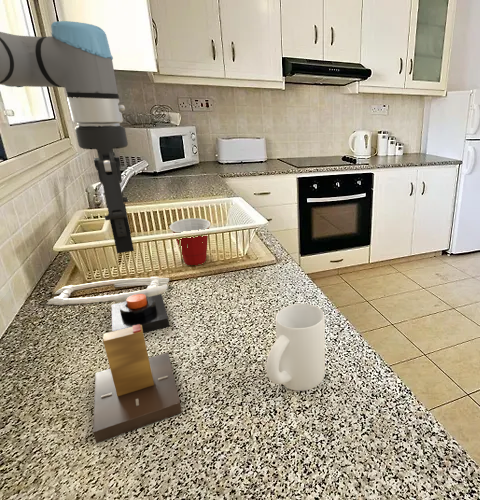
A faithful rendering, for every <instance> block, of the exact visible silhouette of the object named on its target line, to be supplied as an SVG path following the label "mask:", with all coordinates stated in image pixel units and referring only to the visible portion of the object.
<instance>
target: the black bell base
mask: <svg viewBox="0 0 480 500" xmlns="http://www.w3.org/2000/svg"><path fill="white" fill-rule="evenodd" d="M146 299H147V305H145V306H143V307H141V308H136V309H129V308H128V305H127V301H123V302H117V303H112V304H111V305H110V307H111V309H110V310H111V332H113V331H117V330H121V329H125V328H130V327H133V326H134V325H138V324H140V325H142V329H143V334H147V333H150V332H155V331H159V330H162V329H166V328H170V327H171V326H170V320H169V315H168V313H167V309H166V304H165V302H164V298H163V293H162V294H158V295H155V296H150V297H147V296H146Z"/></svg>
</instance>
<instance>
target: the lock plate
mask: <svg viewBox="0 0 480 500" xmlns="http://www.w3.org/2000/svg"><path fill="white" fill-rule="evenodd" d="M149 362H150V367H151V372H152V376H153V382H154V385H153V386H150V387H146V388H143V389H140V390H137V391H134V392H131V393H127V394H124V395H121V396H117V393H116V389H115V385H114V381H113V377H112V373H111V370H110V368H107V369H103V370H100V371H97V372H95V375H94V376H95V377H94V397H93V398H94V399H93V420H92V421H93V423H92V434H93V437H94V440H95V443H96V444H100V443H101V442H104V441H107V440H109V439H113V438H116V437H119V436H121V435H123V434H126V433H129V432H132V431H135V430H137V429H141V428H144V427H145V426H150V425H151V424H154V423H157V422H161V421H163V420H165V419H169V418H171V417H174V416H177V415H179V414H182V413H183V409H182V405H181V399H180V396H179V392H178V387H177V383H176V379H175V375H174V371H173V367H172V363H171V359H170V354H169V352H164V353H160V354H158V355H154V356H150V357H149Z"/></svg>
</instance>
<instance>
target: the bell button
mask: <svg viewBox="0 0 480 500" xmlns="http://www.w3.org/2000/svg"><path fill="white" fill-rule="evenodd" d="M126 300H127V305H128V308H129V309H136V308H141V307H143V306H145V305H147V299H146V295H144V294H135V295H132V296H130V297H128V298H127V299H126Z"/></svg>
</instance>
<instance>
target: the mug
mask: <svg viewBox="0 0 480 500" xmlns="http://www.w3.org/2000/svg"><path fill="white" fill-rule="evenodd" d="M274 320H275V336H276V340H275V341H274V343H273V344H272V345H271V348H270V349H269V352H268V355H267V358H266V361H265V372H266V376H267V378H268V380H269V381H270V382H271V383H272V384H275V385H283V387H285V388H286V389H288V390H290V391H296V392H303V391H308V390H312V389H314V388H316V387H318V386H319V385H320V384H321V383H322V382H323V380H324V379H325V377H326V317H325V313H324V311H323V309H322V308H320V307H319V306H317V305H314V304H310V303H293V304H290V305H287V306H284V307H282V308H281V309H280V310H278V311H277V313H276V315H275V318H274Z"/></svg>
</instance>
